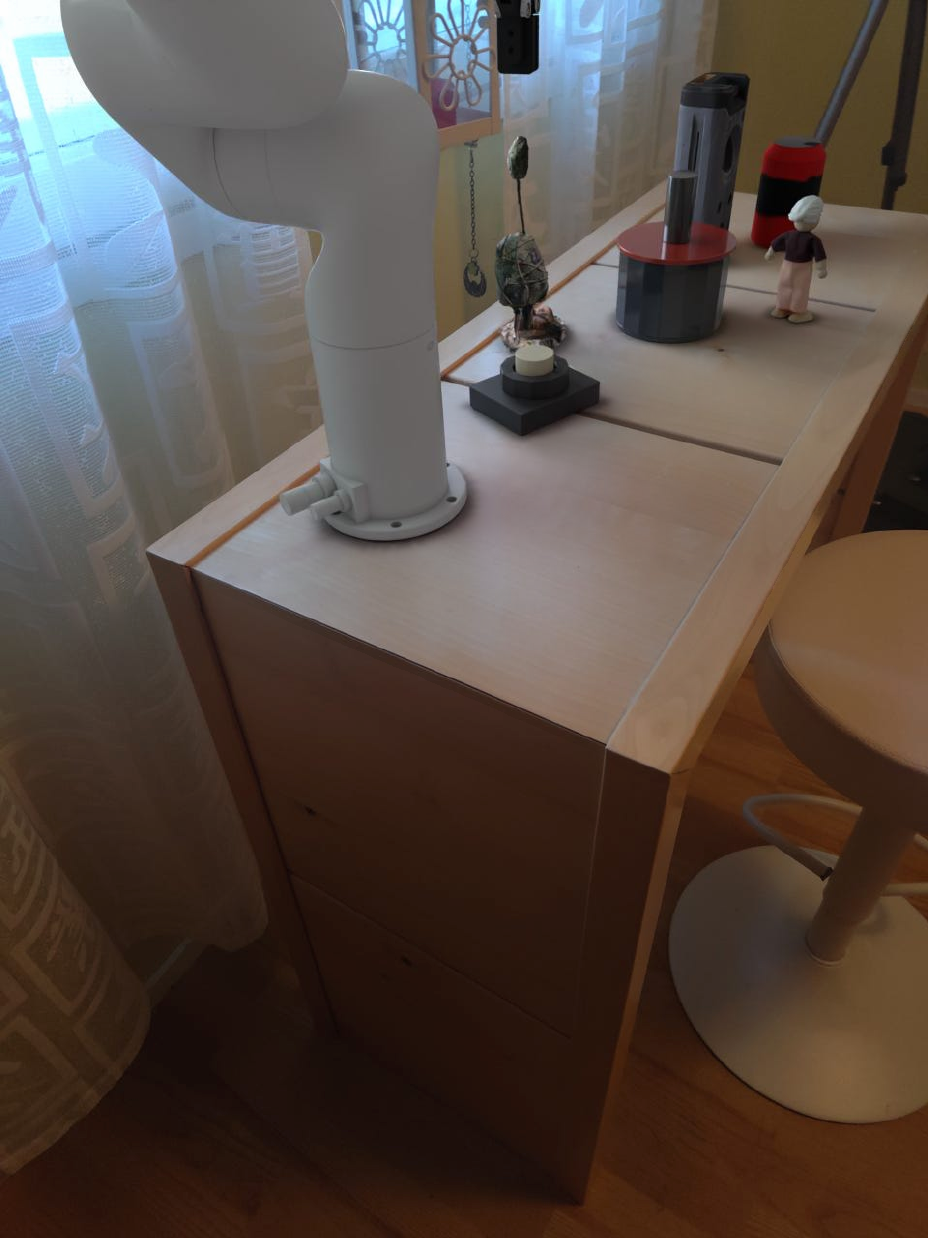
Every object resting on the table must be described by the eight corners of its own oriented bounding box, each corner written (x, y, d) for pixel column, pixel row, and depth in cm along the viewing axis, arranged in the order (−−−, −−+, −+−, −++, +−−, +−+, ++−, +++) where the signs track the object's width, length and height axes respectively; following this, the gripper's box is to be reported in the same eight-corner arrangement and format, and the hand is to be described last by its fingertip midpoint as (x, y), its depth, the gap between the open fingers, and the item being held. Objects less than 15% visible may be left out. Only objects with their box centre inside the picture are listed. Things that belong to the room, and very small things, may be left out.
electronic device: (704, 270, 112) (728, 89, 99) (660, 263, 114) (677, 86, 101) (729, 247, 118) (754, 73, 105) (686, 241, 120) (706, 70, 107)
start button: (532, 381, 83) (532, 364, 82) (508, 369, 86) (507, 352, 84) (561, 370, 85) (561, 352, 84) (536, 358, 87) (536, 341, 86)
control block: (521, 436, 83) (520, 397, 80) (469, 406, 88) (467, 368, 85) (599, 402, 87) (601, 364, 85) (546, 375, 92) (546, 338, 90)
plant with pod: (472, 354, 97) (463, 153, 84) (520, 315, 104) (519, 125, 91) (539, 368, 93) (540, 161, 80) (583, 327, 101) (592, 131, 88)
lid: (678, 280, 89) (687, 200, 84) (592, 249, 97) (595, 174, 92) (760, 249, 94) (773, 172, 89) (672, 223, 102) (679, 150, 97)
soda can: (791, 254, 115) (811, 152, 107) (739, 242, 119) (754, 144, 111) (819, 238, 119) (840, 138, 111) (768, 227, 123) (784, 131, 115)
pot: (669, 352, 95) (678, 272, 89) (594, 320, 102) (598, 244, 96) (741, 321, 100) (753, 244, 94) (664, 293, 107) (672, 219, 101)
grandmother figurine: (827, 316, 100) (853, 196, 91) (812, 328, 98) (838, 206, 89) (763, 301, 104) (783, 185, 95) (747, 312, 101) (767, 194, 93)
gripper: (504, -217, 70) (508, 55, 82) (425, -222, 60) (442, 89, 72) (596, -225, 68) (586, 56, 80) (529, -232, 57) (529, 92, 70)
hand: (518, 71), depth 76 cm, fingers closed
